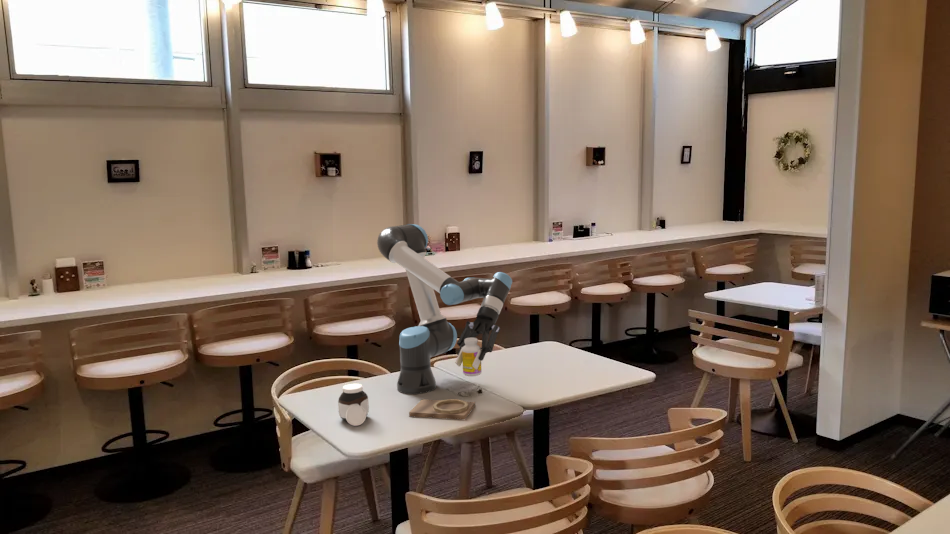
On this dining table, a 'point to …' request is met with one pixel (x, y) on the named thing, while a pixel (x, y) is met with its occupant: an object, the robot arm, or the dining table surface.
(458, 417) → the seat board
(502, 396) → the dining table surface
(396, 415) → the dining table surface
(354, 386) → the spread jar
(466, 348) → the supplement bottle
